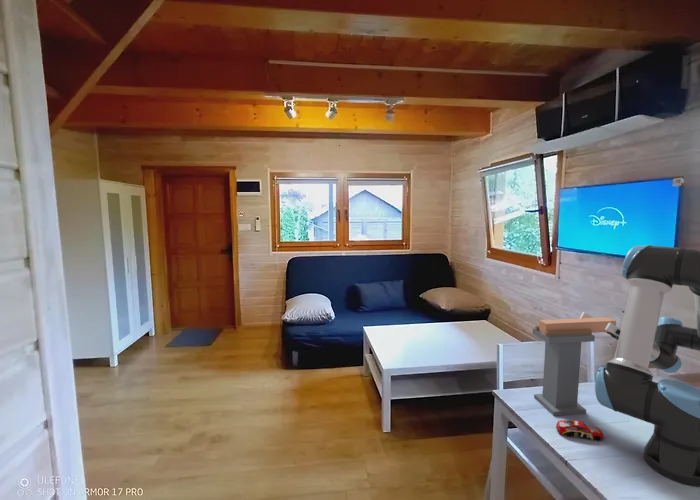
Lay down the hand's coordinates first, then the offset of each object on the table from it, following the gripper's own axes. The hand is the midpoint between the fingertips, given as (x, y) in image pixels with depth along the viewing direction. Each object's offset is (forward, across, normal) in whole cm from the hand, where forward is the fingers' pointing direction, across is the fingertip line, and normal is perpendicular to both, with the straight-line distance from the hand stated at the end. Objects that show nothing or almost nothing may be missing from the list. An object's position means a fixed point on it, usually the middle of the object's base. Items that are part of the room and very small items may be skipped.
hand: (594, 320), depth 136 cm
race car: (-3, -17, -36) cm, 40 cm away
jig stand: (-6, 0, -33) cm, 34 cm away
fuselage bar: (+4, 0, -6) cm, 7 cm away
